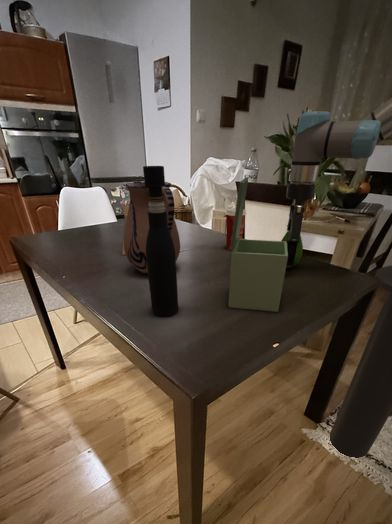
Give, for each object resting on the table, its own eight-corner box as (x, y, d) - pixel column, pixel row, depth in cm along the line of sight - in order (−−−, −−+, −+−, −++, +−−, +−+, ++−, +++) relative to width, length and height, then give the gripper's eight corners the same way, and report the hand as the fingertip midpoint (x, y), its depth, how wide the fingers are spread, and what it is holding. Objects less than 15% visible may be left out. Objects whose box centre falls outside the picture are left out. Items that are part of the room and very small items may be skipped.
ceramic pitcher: (157, 257, 103) (150, 178, 89) (200, 271, 91) (199, 182, 77) (117, 270, 93) (101, 183, 78) (159, 287, 81) (149, 188, 67)
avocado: (287, 273, 89) (294, 233, 82) (269, 266, 95) (275, 228, 88) (304, 268, 93) (312, 229, 86) (286, 261, 98) (293, 225, 91)
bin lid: (248, 177, 64) (245, 177, 64) (243, 182, 55) (239, 182, 55) (239, 237, 72) (236, 236, 72) (233, 250, 63) (229, 250, 63)
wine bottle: (167, 319, 66) (155, 167, 49) (146, 312, 69) (128, 166, 51) (183, 308, 70) (177, 165, 53) (163, 302, 73) (151, 165, 56)
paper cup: (234, 252, 107) (237, 212, 99) (219, 248, 112) (221, 209, 104) (247, 248, 112) (251, 209, 104) (232, 244, 116) (235, 207, 108)
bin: (278, 292, 78) (286, 241, 70) (278, 312, 68) (288, 255, 61) (233, 288, 80) (237, 239, 72) (228, 307, 71) (231, 252, 63)
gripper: (287, 178, 90) (276, 246, 103) (289, 187, 71) (275, 270, 83) (311, 179, 89) (297, 247, 101) (321, 188, 69) (302, 272, 82)
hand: (287, 258), depth 92 cm, fingers open, 13 cm apart
